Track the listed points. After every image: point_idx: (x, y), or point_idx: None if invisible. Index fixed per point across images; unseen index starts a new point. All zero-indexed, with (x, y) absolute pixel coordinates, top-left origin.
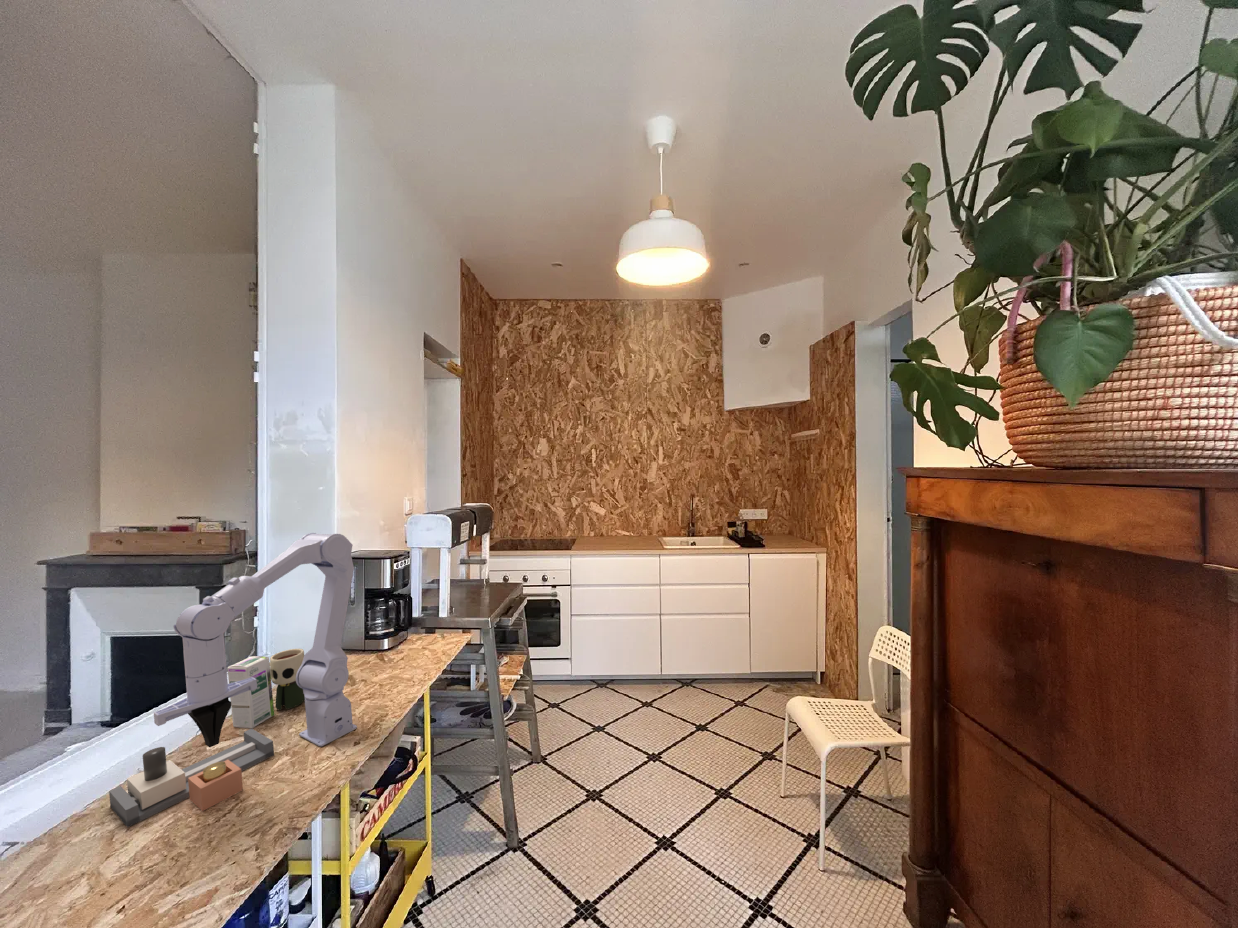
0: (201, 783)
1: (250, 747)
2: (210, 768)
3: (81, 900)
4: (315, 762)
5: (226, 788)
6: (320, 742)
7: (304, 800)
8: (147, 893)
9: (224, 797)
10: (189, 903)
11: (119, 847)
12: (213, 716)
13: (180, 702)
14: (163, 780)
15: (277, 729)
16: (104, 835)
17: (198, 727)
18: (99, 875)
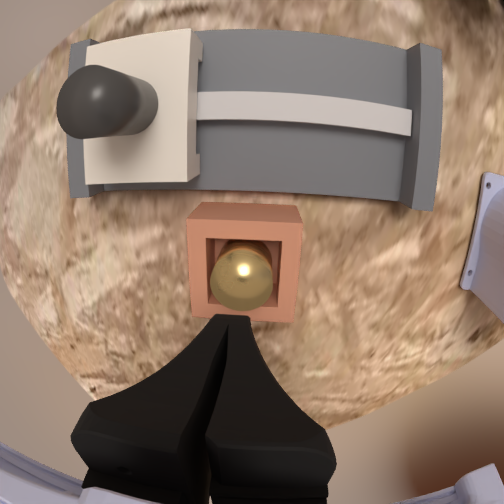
0: (200, 293)
1: (396, 133)
2: (230, 281)
3: (54, 332)
4: (413, 331)
5: None
6: (468, 277)
7: (318, 413)
8: None
9: None
10: None
11: (80, 252)
12: (209, 496)
13: (14, 497)
14: (134, 169)
15: (475, 70)
16: (65, 174)
17: (172, 360)
18: (63, 302)
